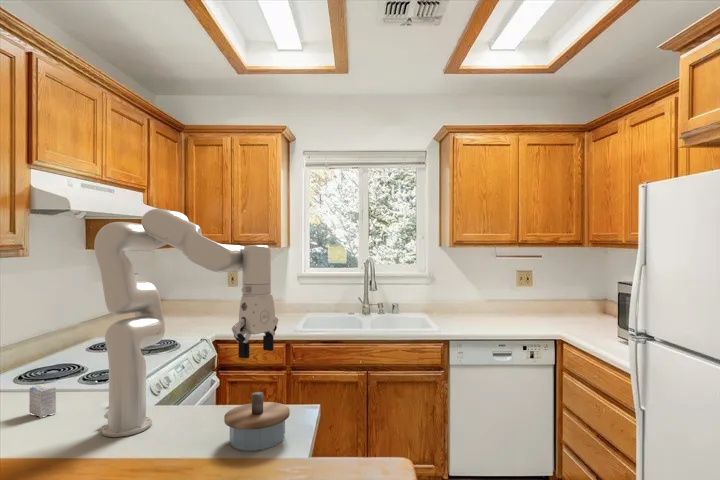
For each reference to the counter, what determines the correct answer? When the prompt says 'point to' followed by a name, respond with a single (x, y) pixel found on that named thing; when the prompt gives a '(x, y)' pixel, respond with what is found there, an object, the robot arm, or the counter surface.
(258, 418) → the lid
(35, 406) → the medicine box
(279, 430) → the bowl
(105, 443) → the counter surface
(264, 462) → the counter surface
